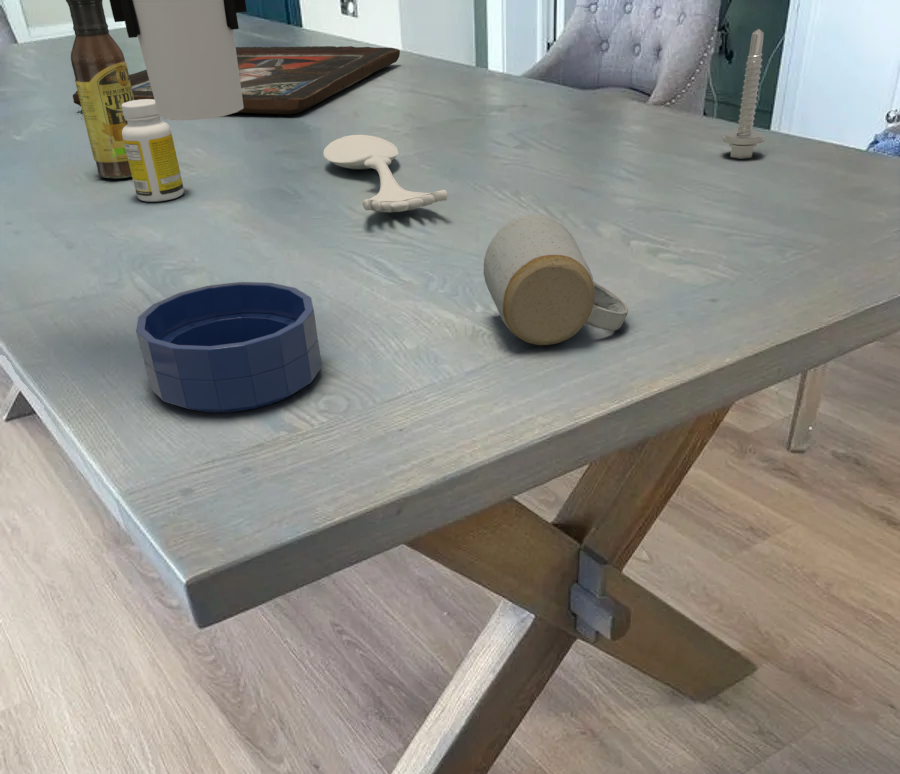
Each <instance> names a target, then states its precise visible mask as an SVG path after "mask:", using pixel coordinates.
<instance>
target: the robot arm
mask: <svg viewBox="0 0 900 774" xmlns="http://www.w3.org/2000/svg"><path fill="white" fill-rule="evenodd" d="M223 1H224V8H225V16H226V22H227V26H228V27H229V28H230V27H231V30H233V31H234V30H239V28H240V27H239V22H238V21H239V20H238V15H237V13H247V12H248V11H247V10H248V9H247V3H246V0H223ZM109 5H110V10H111V14H112V17H113V21H114V22H115V23H120V22H121V23H123V22H124V24H125V29H126V33H127V37H128V38H129V39H133V38H134V39H135V38H138V36H137V35H140V33H139V28H138V24H137V19H136V15H135V11H134V6H133V2H132V0H109Z"/></svg>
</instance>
